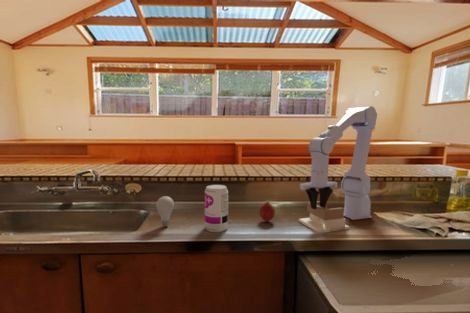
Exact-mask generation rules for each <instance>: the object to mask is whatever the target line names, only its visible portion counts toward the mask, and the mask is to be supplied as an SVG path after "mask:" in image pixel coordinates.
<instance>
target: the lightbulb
mask: <svg viewBox="0 0 470 313" xmlns="http://www.w3.org/2000/svg"><path fill="white" fill-rule="evenodd" d="M155 206H156V209H157V212H158V213H159V216H160V220H161V225H162V226H163V227H168V226H169V225H170V220H171V214H172V212H173V209H174V206H175V202H174V199H173V198H172V197H170V196H167V195H166V196H165V195H163V196H161V197H160V198H158V199H157V201H156V204H155Z"/></svg>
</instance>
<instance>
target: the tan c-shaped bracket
mask: <svg viewBox="0 0 470 313" xmlns="http://www.w3.org/2000/svg"><path fill="white" fill-rule="evenodd" d="M306 205H307V206H306V211H307V212H308V213H309V214H310V213H312V214H314V215H315V216H317V217H319V218H321V219H323V220H331V219H339V218H345V216H344V207H333V208H332V207H331V208H328V202H327V203H326V206H325V208H323V207H321V206H320V200H317V206H316V209H313V208H311V204H310V201H308V202H307V204H306Z"/></svg>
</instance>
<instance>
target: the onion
mask: <svg viewBox="0 0 470 313" xmlns="http://www.w3.org/2000/svg"><path fill="white" fill-rule="evenodd" d="M275 212H276V210H275V208H274V206H273V205H272V204H270V201H268V200H266V201H265V203H264V204H262V205H261V207H260V208H259V212H258V213H259V216H260V218H261V219H262V220H263V221H264V222H266V223H269V222H270V221H271V220H272V219H273V218H274V217H275V215H276V213H275Z"/></svg>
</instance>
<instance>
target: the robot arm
mask: <svg viewBox="0 0 470 313" xmlns="http://www.w3.org/2000/svg"><path fill="white" fill-rule="evenodd" d="M376 110H377V109H376V108H375V107H374V106H372V105H370V106H362V107H360V106H359V107H348V108H347V110H345V111H344V116H343V117H342V118H341V119H340V120H339V121H337V123H336V124H333V125H330V124H329V125H328V126H327V129H326V130H324V131H323V132H321V133H320V134H319V135H318V136H317V137H313V138H312V139H311V140H310V142H309V144H308V150H309V152H310V158H311V166H310V167H311V171H310V181H308V182H303V183H299V189H300V190H301V191H305V192H306V194H307V198H308V200H309V202H310V204H311V208H313V209H316V206H317V201H318V197H319V201H320V206H321V207H323V208H325V206H326V203H327V204H328V199H330V196H331V195H332V193H333V191H334V190H333V188H335V189H338V182H336V181H329V180H328V177H329V157H330V154H331V153H332V152H333V151H334V150H333V149H334V147H335V145H336V143H337V142H338V141H340V140H341V138H342V137H343V134H344V132H345V131H346V130H347V129H349V127H351V128H352V129H353V130H355V131H356V133H357V134H356V138H355V145H354V150H353V154H352V159H351V160H352V162H351V165H350V169H349V170H347V171H346V172H345V173H344V174H343V178H342V180H341V182H340V188H341V191H343V194H344V207H343V208H344V217H346V218H348V219H351V220H354V221H355V220H362V219H363V220H364V219H369V218H372V216H371V204H372V202H371V198H370V196H369V193H370V192H371V187H372V186H371V177H370V176H369V175H368V174H367V173H366V167H367V162H368V161H367V160H368V156H369V151H370V146H371V145H370V144H371V140H372V134H373V131H374V130H375V128H376V123H377V119H378V114H377V111H376Z"/></svg>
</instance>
